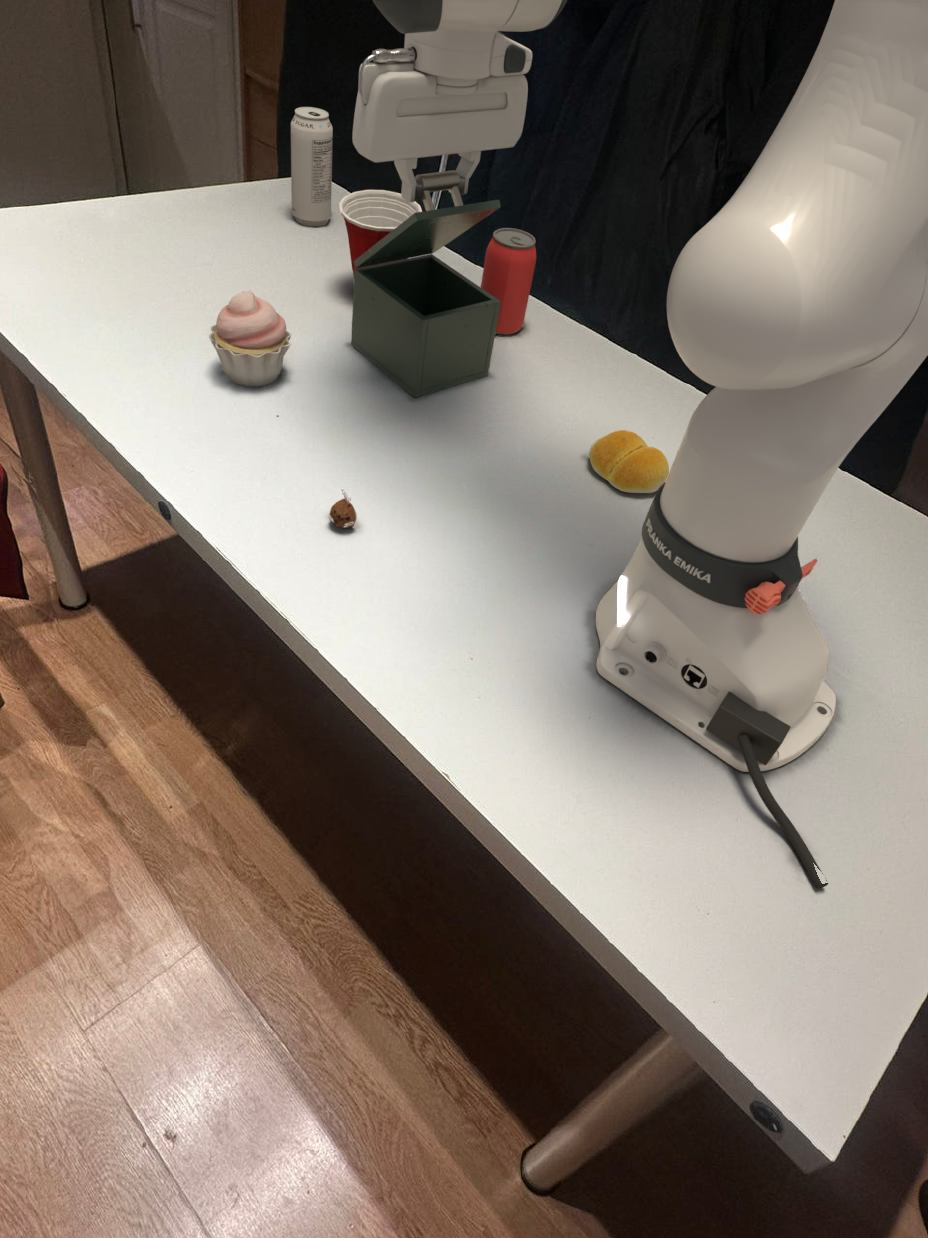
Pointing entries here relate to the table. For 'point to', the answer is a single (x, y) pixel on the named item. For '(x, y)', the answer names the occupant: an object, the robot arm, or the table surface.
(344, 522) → the chocolate
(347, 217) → the plastic cup
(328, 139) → the energy drink can
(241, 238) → the table surface
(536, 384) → the table surface
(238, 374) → the cupcake
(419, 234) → the bin lid
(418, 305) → the bin
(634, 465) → the bread roll
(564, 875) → the table surface
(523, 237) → the beer can
